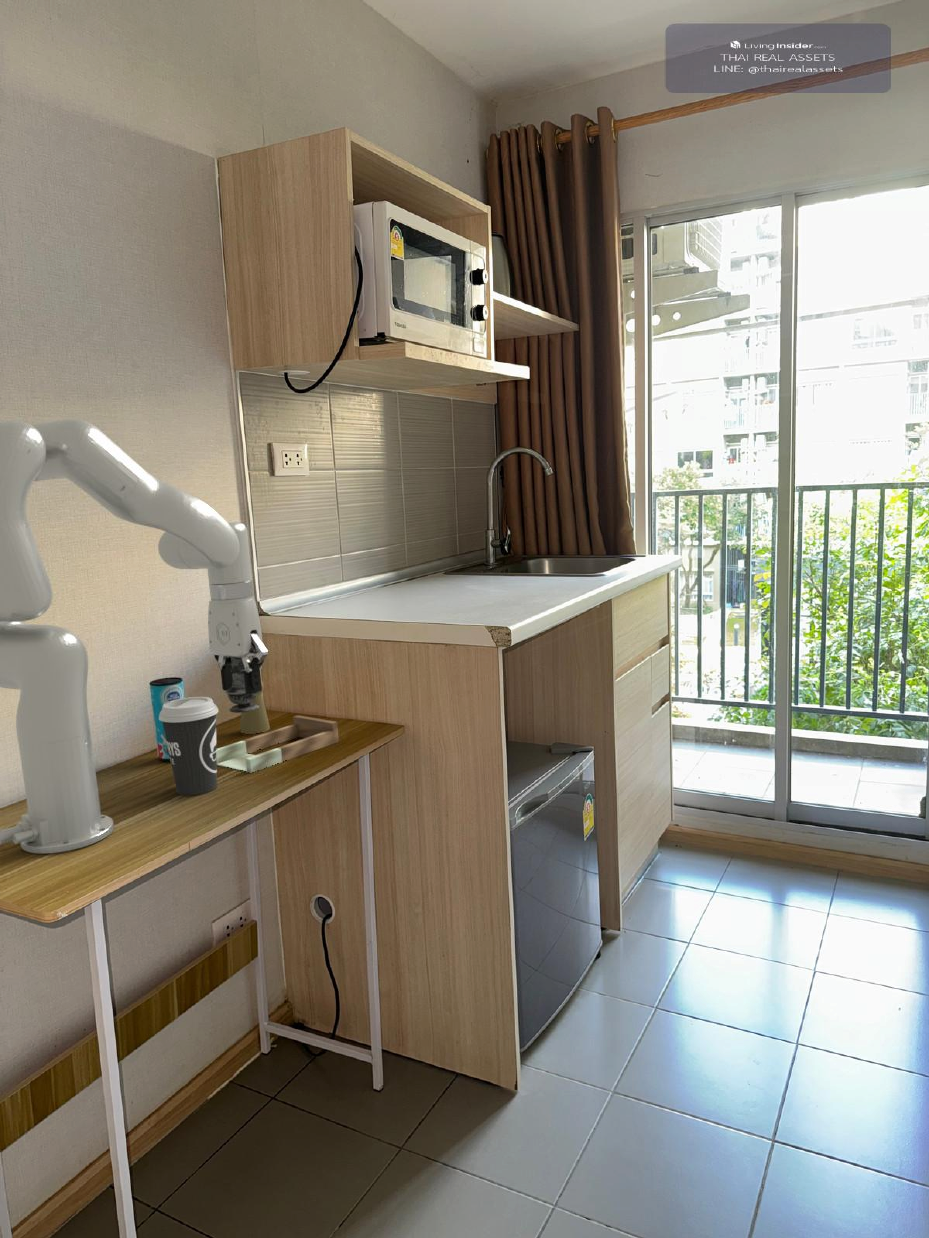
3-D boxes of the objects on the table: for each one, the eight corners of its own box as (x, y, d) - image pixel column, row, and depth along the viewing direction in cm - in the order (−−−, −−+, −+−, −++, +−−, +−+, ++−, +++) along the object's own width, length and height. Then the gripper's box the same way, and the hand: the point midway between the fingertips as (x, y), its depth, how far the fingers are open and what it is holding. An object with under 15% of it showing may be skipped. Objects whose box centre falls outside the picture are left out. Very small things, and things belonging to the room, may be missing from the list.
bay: (251, 773, 154) (249, 751, 154) (212, 763, 161) (209, 742, 161) (338, 741, 171) (337, 721, 170) (299, 734, 178) (297, 715, 177)
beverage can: (166, 764, 163) (156, 685, 161) (153, 758, 167) (144, 681, 165) (196, 756, 167) (187, 679, 164) (183, 750, 171) (174, 675, 169)
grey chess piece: (265, 704, 162) (258, 640, 160) (254, 712, 156) (247, 646, 154) (234, 705, 163) (227, 641, 161) (222, 713, 157) (215, 647, 155)
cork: (239, 728, 185) (234, 678, 183) (268, 725, 187) (263, 674, 185) (241, 736, 179) (236, 683, 178) (271, 732, 181) (266, 680, 179)
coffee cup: (199, 776, 154) (190, 693, 152) (238, 783, 149) (229, 697, 147) (155, 794, 146) (144, 707, 144) (195, 802, 141) (184, 711, 139)
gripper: (185, 593, 159) (196, 690, 161) (245, 596, 148) (256, 700, 151) (219, 588, 164) (229, 682, 167) (279, 590, 154) (289, 690, 157)
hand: (242, 689), depth 159 cm, fingers closed on grey chess piece, 5 cm apart
